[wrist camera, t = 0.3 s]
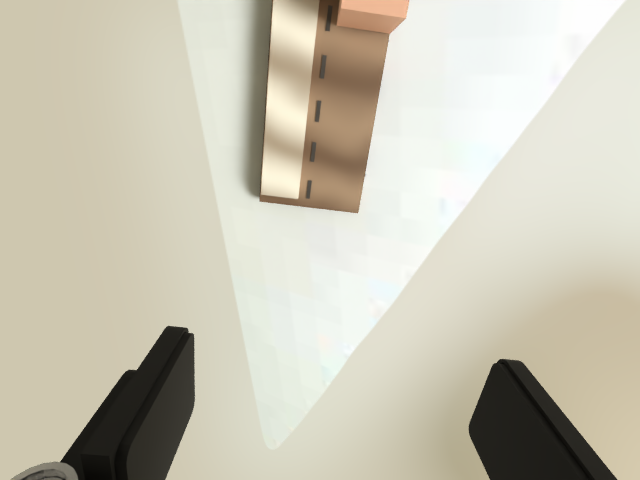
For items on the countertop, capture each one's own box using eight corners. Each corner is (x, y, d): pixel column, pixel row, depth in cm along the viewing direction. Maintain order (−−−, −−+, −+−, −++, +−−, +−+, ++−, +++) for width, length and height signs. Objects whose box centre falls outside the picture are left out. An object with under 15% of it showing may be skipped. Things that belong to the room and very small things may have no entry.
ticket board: (282, -125, 29) (279, -144, 26) (410, -103, 29) (417, -119, 27) (261, 197, 39) (258, 203, 37) (356, 209, 39) (358, 215, 37)
